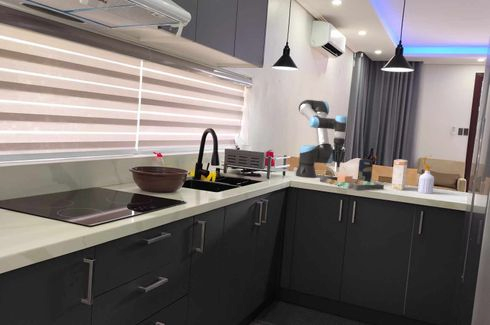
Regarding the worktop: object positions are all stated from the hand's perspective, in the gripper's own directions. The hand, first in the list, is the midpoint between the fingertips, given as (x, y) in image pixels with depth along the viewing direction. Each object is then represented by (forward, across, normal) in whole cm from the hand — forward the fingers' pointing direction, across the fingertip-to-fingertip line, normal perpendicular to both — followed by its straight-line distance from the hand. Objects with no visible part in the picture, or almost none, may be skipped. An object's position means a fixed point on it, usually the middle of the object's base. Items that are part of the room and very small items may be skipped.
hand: (336, 171), depth 301 cm
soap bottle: (+8, +46, +36) cm, 59 cm away
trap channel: (+7, +15, 0) cm, 16 cm away
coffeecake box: (+8, +30, +29) cm, 42 cm away
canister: (+7, +5, +23) cm, 25 cm away
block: (+8, +8, 0) cm, 11 cm away
